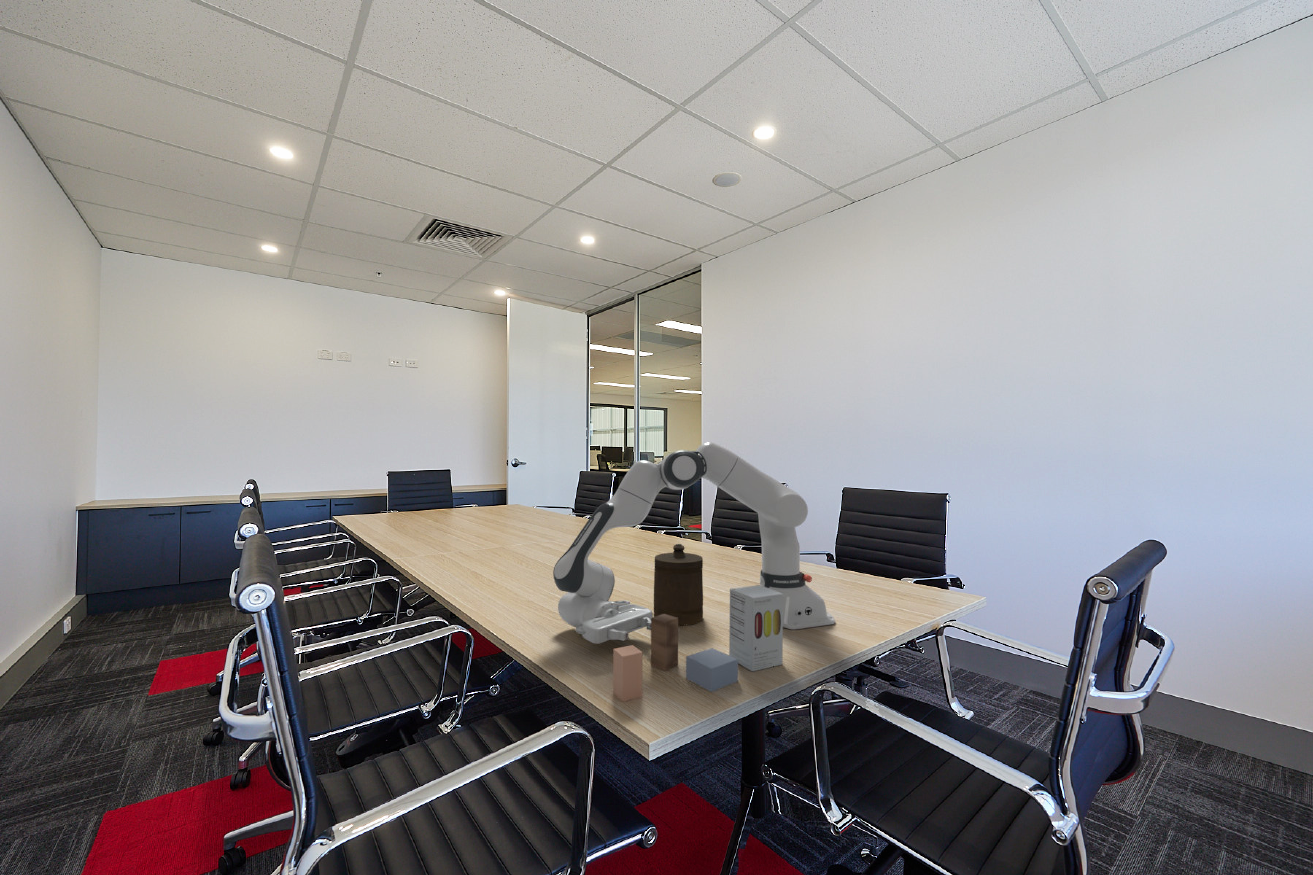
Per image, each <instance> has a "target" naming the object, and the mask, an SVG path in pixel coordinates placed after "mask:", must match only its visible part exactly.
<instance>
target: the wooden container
mask: <svg viewBox="0 0 1313 875" xmlns="http://www.w3.org/2000/svg"><path fill="white" fill-rule="evenodd" d="M672 548H673V551H672V552H664V553H660V554H656V555H655V556H654V574H653V576H654V578H653V617H656V616H659V615H662V614H666V615H670V616H673V617H677V618H678V627H679V626H680V627H681V626H690V625H694V624H697V623H700V622H701V621H703V620H704V589H703V588H704V587H703V582H704V581H703V579H704V578H703V567H704V565H703V564H704V563H703V562H704V560H703V556H701V555H699V554H696V553H690V552H684V550H685V548H686V547H685V546H684V545H682V543H676V544H674V545H673V546H672Z"/></svg>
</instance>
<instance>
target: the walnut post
mask: <svg viewBox="0 0 1313 875" xmlns="http://www.w3.org/2000/svg"><path fill="white" fill-rule="evenodd" d="M678 665H679V625H678V618H677V617H673V616H670V615H666V614H662V615H659V616H656V617H654V616H653V618H651V631H650V666H651V667H654V668H656V669H658V670H661V671H664V672H667V671H668V670H671V669H674V668H675V667H678Z"/></svg>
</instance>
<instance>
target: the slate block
mask: <svg viewBox="0 0 1313 875" xmlns="http://www.w3.org/2000/svg"><path fill="white" fill-rule="evenodd" d="M685 676H686V677H685V679H687V680H688V681H690V682H692V683H694V684H696V685H698V686H699V687H701V688H704V689H705V690H707V691H709V692H711V693H712V692H714V691H717V690H719V688H720V689H722V688H724V686H725V687H727V686H729V684H730V685H732V684H736V683H737V682H738V681H739V663H738V659H736V658H734V657H732V656H729V654H726V653H725V652H722V651H720V650H718V649H715V648H713V647H711V648H708V649H705V650H701V651H698V652H696V653H693V654H690V655H687V656H686V657H685ZM726 685H727V686H726Z"/></svg>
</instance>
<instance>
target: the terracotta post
mask: <svg viewBox="0 0 1313 875" xmlns="http://www.w3.org/2000/svg"><path fill="white" fill-rule="evenodd" d="M612 657H613V662H612V664H613V667H612V668H613V671H612V672H613V674H612V677H613V680H612V683H613V684H612V685H613V686H612V687H613V688H612V689H613V690H612V691H613V692H612V693H613V694H614V695H615V696H616V697H617V698H618V699H619V700H620V701H621V702H627V701H631V700H634V699H639V698H642V697H643V662H644V661H643V659H644V658H643V651H641V650H640V649H639V648H637V647H636V646H634V645H633V644H631V645H627V646H621V647H617V648H613V655H612Z"/></svg>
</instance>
